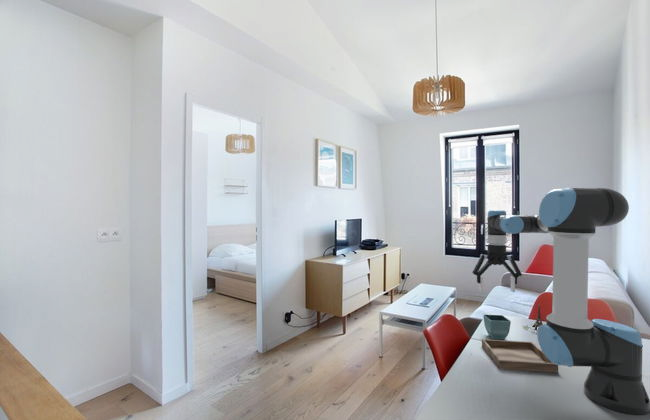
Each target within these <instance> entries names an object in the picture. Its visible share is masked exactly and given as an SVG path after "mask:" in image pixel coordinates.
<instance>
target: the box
mask: <svg viewBox="0 0 650 420" xmlns="http://www.w3.org/2000/svg"><path fill="white" fill-rule="evenodd" d="M481 347H482V348H483V350H484V351H485V352H486V353H487V355H488V357H490V358H491V360H492V361H493V363H494V364H495V365H496V366H497V368H498V369H499V370H510V371H511V370H513V371H524V372H525V371H528V372H541V373H542V372H544V373H555V374H556V373H557V374H559V365H556V364H554V363H552V362H551V361H550V360H548V358H547V357H546V356H545V355H544V353H543V351H542V349H541V347H538V345H536V344H535V343H533V341H523V340H522V341H520V340H519V341H518V340H506V339H486V338H485V339H484V338H483V339H481Z"/></svg>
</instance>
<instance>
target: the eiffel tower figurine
mask: <svg viewBox="0 0 650 420" xmlns="http://www.w3.org/2000/svg"><path fill="white" fill-rule="evenodd" d="M537 307H538V309H537V310H538V311H537V317H536V321H534V323H533V324H534V325H533V326H532V327H535V329H534V330H533V332H532V333H533V334H535V335H536V334H537V332H536V331H535V330H537V327H540V326H541V325H544V323H543V321H542V316H541V305H540V304H538V306H537ZM528 325H529V324H528ZM528 325H527V324H526V325H524V326H522V329H524V330H526V331H529V330H528V329H529V328H530V327H528ZM530 329H531V328H530ZM535 332H536V333H535Z"/></svg>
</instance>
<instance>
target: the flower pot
mask: <svg viewBox="0 0 650 420" xmlns="http://www.w3.org/2000/svg"><path fill="white" fill-rule="evenodd" d="M483 322H484V323H483V324H484V328H485V330H486V333H487V334H488V336H490V337H491V338H492V340H506V339H507V337H508V335H509V333H510V329H511V323H512V321H511V320H510V319H509V318H507V317H506V316H505V315H502V314H483Z"/></svg>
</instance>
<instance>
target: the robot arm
mask: <svg viewBox="0 0 650 420" xmlns="http://www.w3.org/2000/svg"><path fill="white" fill-rule="evenodd" d="M629 209H630V205H629V202H628V200H627V199H626V196H625V195H623V194H622V193H620V192H619V191H617V190H614V189H613V188H605V187H596V188H595V187H594V188H592V187H591V188H589V187H588V188H587V187H586V188H585V187H579V188H578V187H565V188H555V189H552V190H550V191H549V192H547V193H546V194H545V196H543V198H542V199H541V202H540V204H539V208H538V214H534V215H533V214H532V215H531V214H530V215H528V214H527V215H526V214H524V215H523V214H508V215H507V211H506V210H503V209H502V210H501V209H500V210H499V209H498V210H497V209H496V210H488V211H487V218H486V219H487V220H486V221H487V254H482V253H481V254H480V255H479V259H478V261H477V263H476V265H475V266H474V269H473V271H472V274H473V275H475V276H476V283H477V284H478V290H479V291H480V292H484V291H483V288H484V284H483V281H484V280H483V277H484V276H482V275H483V274H484V273H485V272H486V271H487V270H488V269H489V267H491V266H492V265H494V266H496V265H498V266H501V265H503V267H504V268H505V269H506V270H507V271H508V272H509V274H510V275H512V276H510V292H512V293H515V292H516V285H517V284H518V278H519V277H522V276H523V274H522V272H521V270H520V269H519V266H518V264H517V263H516V260H515V255H513V254H509V255H507V245H506V244H507V234H509V235H510V234H514V235H515V234H539V233H540V234H550V235H551V236H552V237H553V242H552V243H553V248H552V249H553V251H552V252H553V257H552V259H553V260H552V304H551V305H552V306H551V307H552V312H551V313H549V314H548V315H546V318H545V319H546V323H545V324H544V323H543V325H541V326H539V328H538V331H537V332H536V333H537V337H536V338H537V341H538V342H537V343H538V345H539V348H540V349H541V350H542V351H543V353H544V355H545V356H546V357H547V358H548V360H550V361H551V362H552V363H554V364H556V365H558V366H562V367H563V366H565V367H568V368H571V367H589V368H590V369H589V372H588V374H587V376H586V379H585V380H584V383H583V392H584V394H585V395H586V396H587V397H588V398H589V399H590V400H591V401H593V402H595V403H597V405H601V406H603V407H605V408H606V409H607V408H608V409H611V410H613V411H617V412H620V413H624V414H629V415H636V416H637V415H646V414H649V413H650V397H649V396H648V393H647V391H646V387H645V384H644V382H643V348H644V345H643V340H642V337H643V336H642V334H641V333H640V332H639V331H638V330H637V329H635V328H633V327H631V326H629V325H626V324H622V323H620V322H615V321H612V320H608V319H600V318H593V319H591V320H590V319H589V318H588V304H589V303H588V302H589V301H588V300H589V299H588V298H589V296H588V295H589V287H588V286H589V244H590V243H589V242H590V241H589V239H590V238H592V237H593V236H595V235H596V231H597V230H596V227H597V228H598V227H609V226H610V227H611V226H614V225H616V224H618V223H621V222H622V221H623V220H625V219H626V217H627V216H628V213H629ZM486 259H487V261H486V262H485V264H484V265H483V263H484V261H485V260H486ZM506 260H508V261H509V262H510V264H511V266H512V268H513V269H512V268H511V267H510V266H509V263H507V261H506ZM482 265H483V266H482Z"/></svg>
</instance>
